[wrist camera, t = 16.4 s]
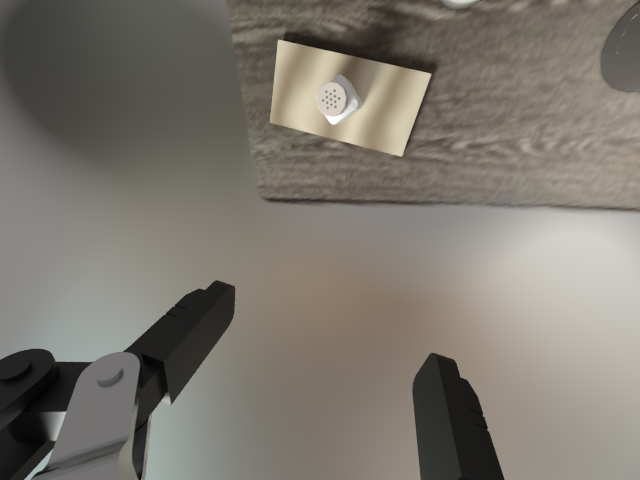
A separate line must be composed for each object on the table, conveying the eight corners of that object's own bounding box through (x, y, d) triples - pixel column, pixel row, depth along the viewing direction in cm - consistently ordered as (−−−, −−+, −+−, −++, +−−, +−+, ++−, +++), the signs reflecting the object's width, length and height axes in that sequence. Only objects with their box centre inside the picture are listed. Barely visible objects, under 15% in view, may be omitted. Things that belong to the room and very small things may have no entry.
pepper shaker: (364, 106, 34) (357, 104, 25) (339, 125, 35) (326, 128, 27) (348, 78, 33) (336, 66, 24) (323, 98, 34) (304, 94, 26)
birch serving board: (429, 75, 32) (431, 73, 31) (401, 155, 37) (401, 156, 35) (282, 42, 34) (278, 39, 33) (273, 122, 39) (269, 122, 37)
